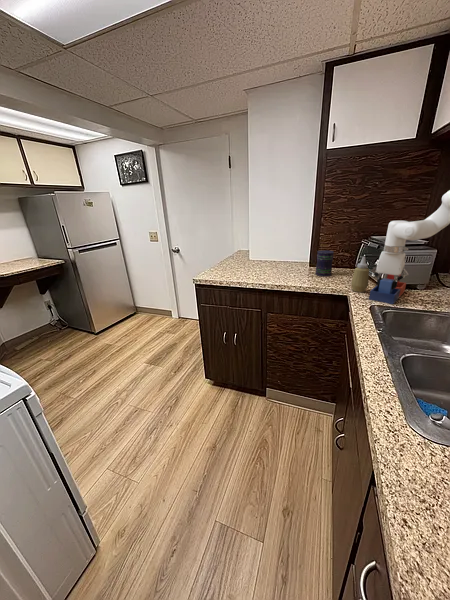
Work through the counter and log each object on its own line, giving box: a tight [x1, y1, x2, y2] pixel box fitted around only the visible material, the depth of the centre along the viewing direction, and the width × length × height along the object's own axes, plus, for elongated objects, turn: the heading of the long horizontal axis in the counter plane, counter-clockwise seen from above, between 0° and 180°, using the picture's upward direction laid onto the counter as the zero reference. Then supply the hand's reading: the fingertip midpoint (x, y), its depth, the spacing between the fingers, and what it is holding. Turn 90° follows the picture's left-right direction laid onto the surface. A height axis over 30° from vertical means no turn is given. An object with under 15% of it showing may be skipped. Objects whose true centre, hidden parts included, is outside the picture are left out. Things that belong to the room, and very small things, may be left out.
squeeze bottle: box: [350, 256, 370, 293], centre depth 128 cm, size 8×8×18 cm
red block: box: [386, 274, 402, 287], centre depth 126 cm, size 5×5×9 cm
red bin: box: [395, 281, 407, 298], centre depth 127 cm, size 10×10×4 cm
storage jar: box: [315, 249, 335, 277], centre depth 160 cm, size 10×10×15 cm
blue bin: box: [368, 284, 400, 305], centre depth 119 cm, size 10×10×4 cm
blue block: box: [378, 277, 394, 294], centre depth 118 cm, size 5×5×9 cm
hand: (386, 287), depth 117 cm, fingers open, 5 cm apart
